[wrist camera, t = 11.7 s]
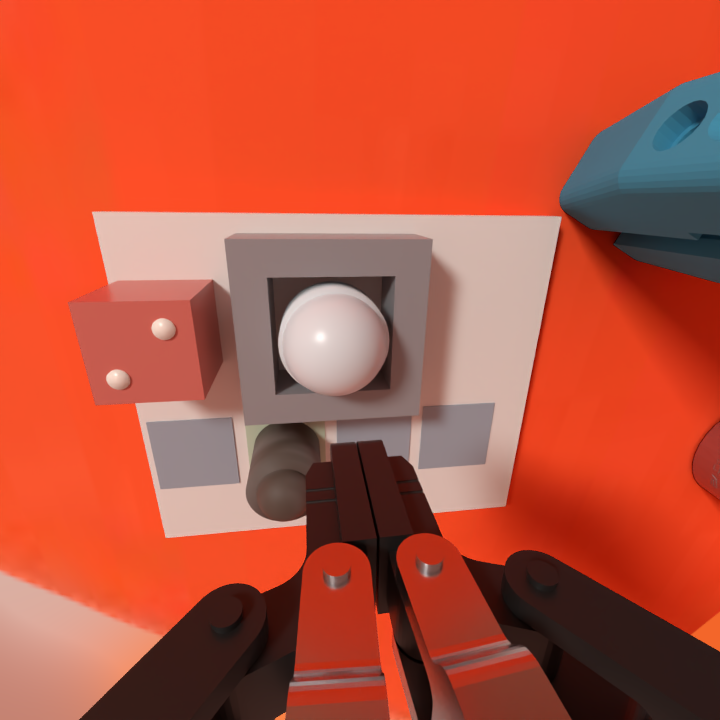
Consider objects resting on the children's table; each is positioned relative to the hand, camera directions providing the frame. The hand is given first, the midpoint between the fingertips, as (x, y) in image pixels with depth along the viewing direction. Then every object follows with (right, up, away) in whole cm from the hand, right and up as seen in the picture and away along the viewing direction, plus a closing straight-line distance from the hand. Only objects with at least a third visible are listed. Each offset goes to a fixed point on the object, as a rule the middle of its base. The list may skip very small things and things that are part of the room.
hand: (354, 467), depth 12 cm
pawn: (-5, -3, +15) cm, 16 cm away
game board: (-1, +1, +16) cm, 16 cm away
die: (-11, +5, +11) cm, 16 cm away
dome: (-1, +5, +11) cm, 12 cm away
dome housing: (-2, +6, +12) cm, 14 cm away
